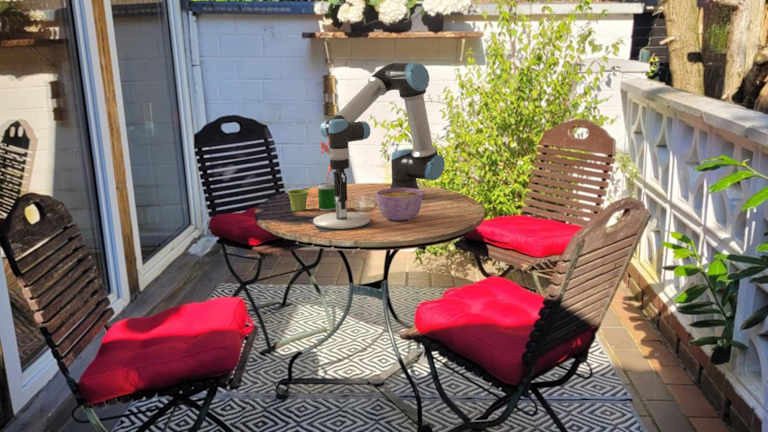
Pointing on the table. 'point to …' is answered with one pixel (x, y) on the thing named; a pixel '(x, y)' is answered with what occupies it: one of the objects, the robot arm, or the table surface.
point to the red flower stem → (328, 153)
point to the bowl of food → (399, 203)
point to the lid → (341, 219)
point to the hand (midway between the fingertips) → (341, 215)
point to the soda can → (326, 197)
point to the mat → (342, 229)
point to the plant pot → (298, 200)
